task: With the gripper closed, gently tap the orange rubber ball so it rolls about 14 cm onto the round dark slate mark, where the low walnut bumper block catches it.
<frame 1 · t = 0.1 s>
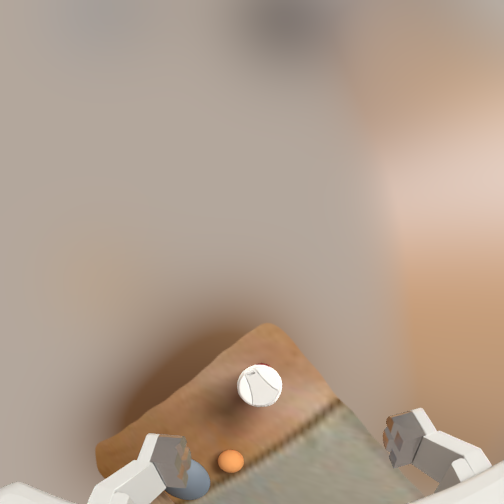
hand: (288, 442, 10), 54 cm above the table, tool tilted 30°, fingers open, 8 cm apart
ball: (230, 461, 54), on the table
paper cup: (261, 375, 62), on the table
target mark: (182, 478, 56), on the table
bumper block: (154, 488, 55), on the table
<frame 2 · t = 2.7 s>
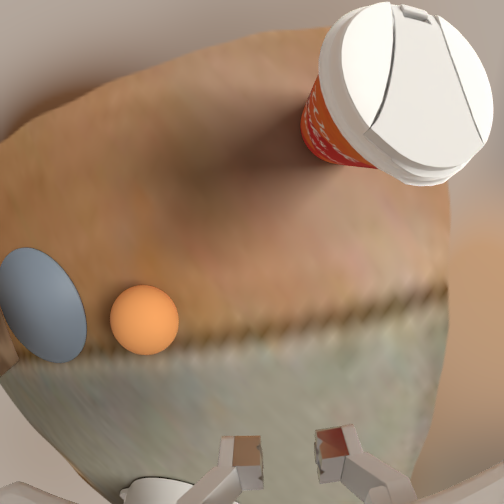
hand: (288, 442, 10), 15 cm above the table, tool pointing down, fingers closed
ball: (144, 320, 23), on the table
paper cup: (335, 129, 22), on the table
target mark: (37, 308, 26), on the table
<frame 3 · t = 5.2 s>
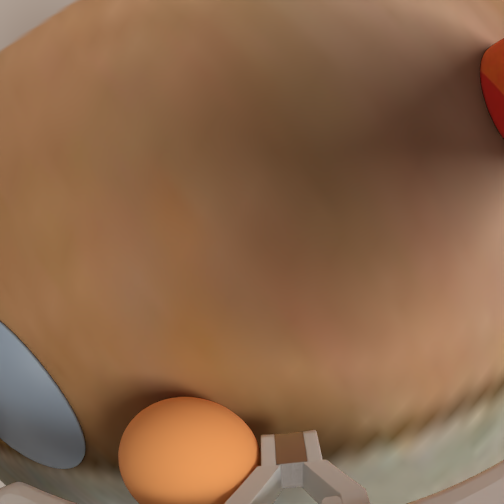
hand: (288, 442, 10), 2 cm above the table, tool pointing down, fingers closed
ball: (190, 462, 9), on the table, touching gripper
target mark: (2, 396, 13), on the table
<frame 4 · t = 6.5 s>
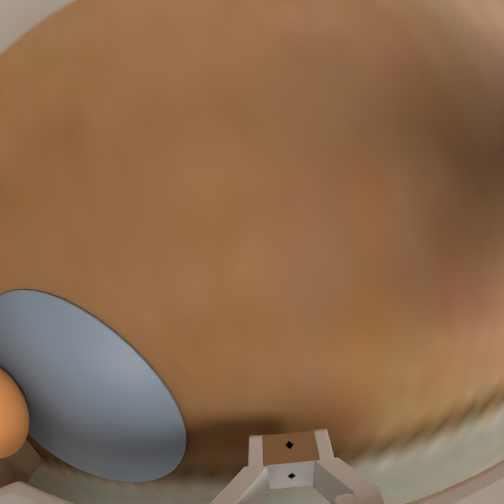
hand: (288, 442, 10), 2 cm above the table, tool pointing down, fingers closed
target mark: (67, 405, 12), on the table
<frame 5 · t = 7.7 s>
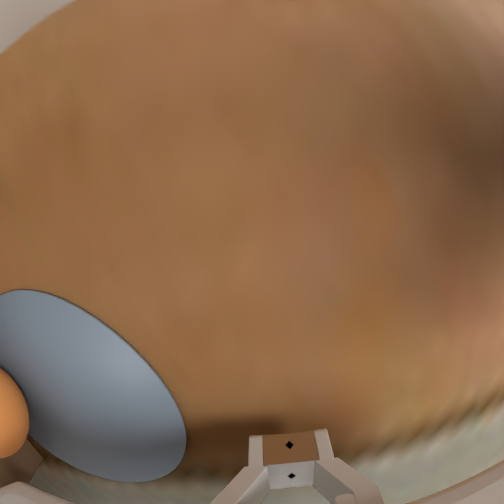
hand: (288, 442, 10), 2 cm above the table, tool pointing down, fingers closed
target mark: (67, 405, 12), on the table
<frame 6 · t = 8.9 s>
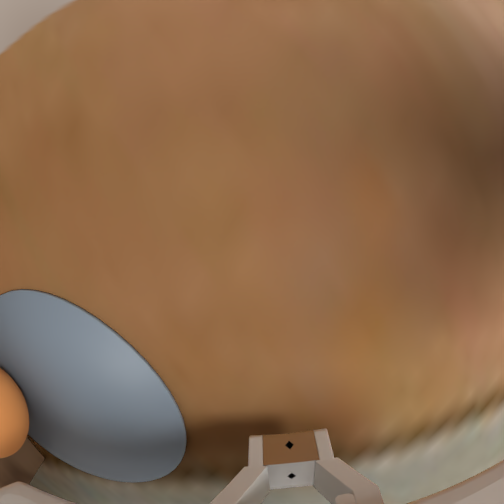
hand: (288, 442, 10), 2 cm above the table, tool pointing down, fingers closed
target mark: (67, 405, 12), on the table
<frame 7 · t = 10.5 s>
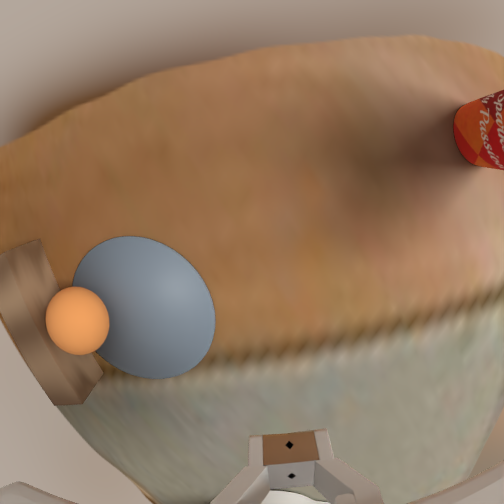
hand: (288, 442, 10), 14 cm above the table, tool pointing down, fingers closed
ball: (77, 320, 21), on the table
paper cup: (474, 135, 20), on the table
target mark: (137, 314, 24), on the table
bumper block: (56, 314, 24), on the table
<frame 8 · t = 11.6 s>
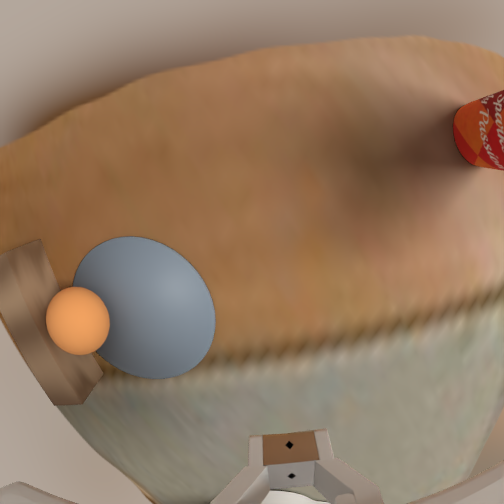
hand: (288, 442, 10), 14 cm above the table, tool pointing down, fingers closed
ball: (77, 320, 21), on the table
paper cup: (474, 136, 20), on the table
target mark: (138, 314, 24), on the table
bumper block: (56, 314, 24), on the table
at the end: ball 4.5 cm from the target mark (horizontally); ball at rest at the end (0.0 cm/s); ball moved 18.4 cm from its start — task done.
